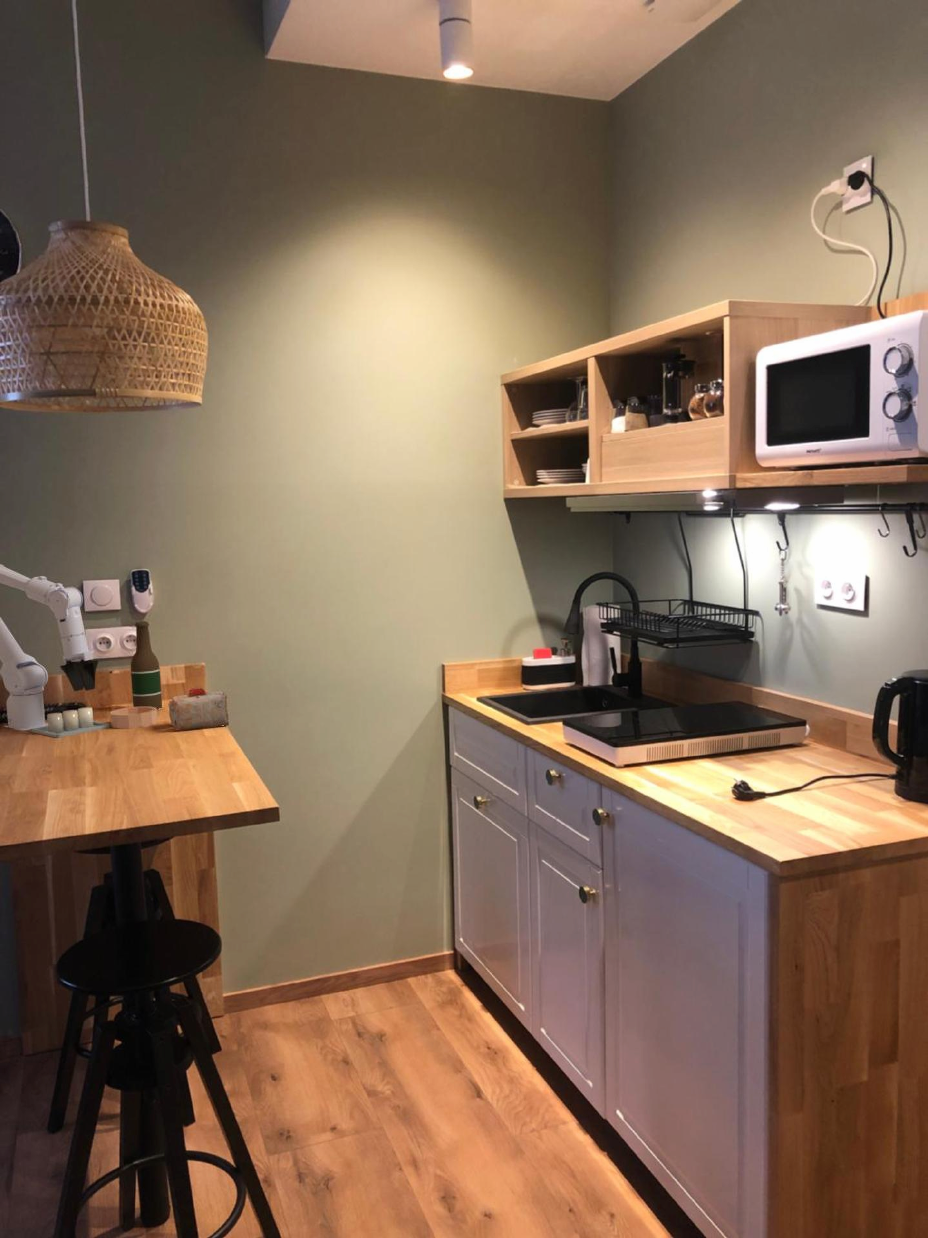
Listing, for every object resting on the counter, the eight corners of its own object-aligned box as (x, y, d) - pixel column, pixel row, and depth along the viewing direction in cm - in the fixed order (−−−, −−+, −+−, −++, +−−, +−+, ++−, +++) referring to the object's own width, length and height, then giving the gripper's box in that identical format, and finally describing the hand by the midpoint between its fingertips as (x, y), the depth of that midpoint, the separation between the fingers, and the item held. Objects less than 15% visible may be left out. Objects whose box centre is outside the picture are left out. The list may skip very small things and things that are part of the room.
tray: (31, 733, 254) (30, 729, 254) (84, 723, 265) (83, 718, 265) (57, 739, 246) (57, 734, 246) (111, 729, 256) (111, 724, 256)
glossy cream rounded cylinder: (61, 729, 255) (59, 711, 255) (74, 727, 258) (72, 709, 257) (68, 731, 253) (66, 713, 252) (81, 728, 255) (79, 710, 255)
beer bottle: (158, 712, 277) (152, 622, 274) (129, 713, 277) (122, 624, 274) (166, 706, 284) (160, 619, 282) (137, 707, 284) (131, 620, 282)
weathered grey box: (172, 733, 249) (170, 693, 248) (169, 727, 256) (166, 688, 255) (230, 727, 254) (228, 687, 253) (225, 721, 261) (222, 682, 260)
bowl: (102, 727, 259) (101, 712, 259) (141, 719, 267) (140, 705, 267) (127, 732, 252) (125, 716, 251) (166, 724, 260) (165, 709, 260)
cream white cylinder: (76, 727, 258) (75, 709, 258) (89, 724, 261) (87, 706, 260) (83, 728, 256) (82, 710, 255) (96, 726, 258) (94, 708, 258)
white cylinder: (45, 733, 252) (44, 714, 252) (59, 730, 255) (57, 712, 254) (52, 734, 250) (51, 716, 249) (66, 731, 252) (64, 713, 252)
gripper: (100, 631, 253) (111, 685, 253) (78, 634, 264) (89, 687, 264) (71, 636, 248) (83, 692, 249) (50, 640, 259) (61, 693, 260)
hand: (84, 690), depth 256 cm, fingers open, 7 cm apart
